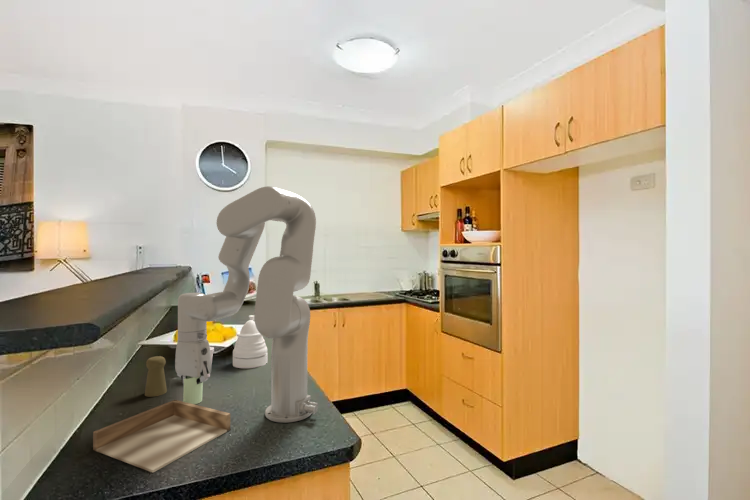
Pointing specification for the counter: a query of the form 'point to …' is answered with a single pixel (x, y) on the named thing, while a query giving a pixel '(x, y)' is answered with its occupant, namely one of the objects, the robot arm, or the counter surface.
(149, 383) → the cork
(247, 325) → the honey pot
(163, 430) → the wooden tray
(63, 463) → the counter surface
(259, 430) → the counter surface
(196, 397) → the candle
